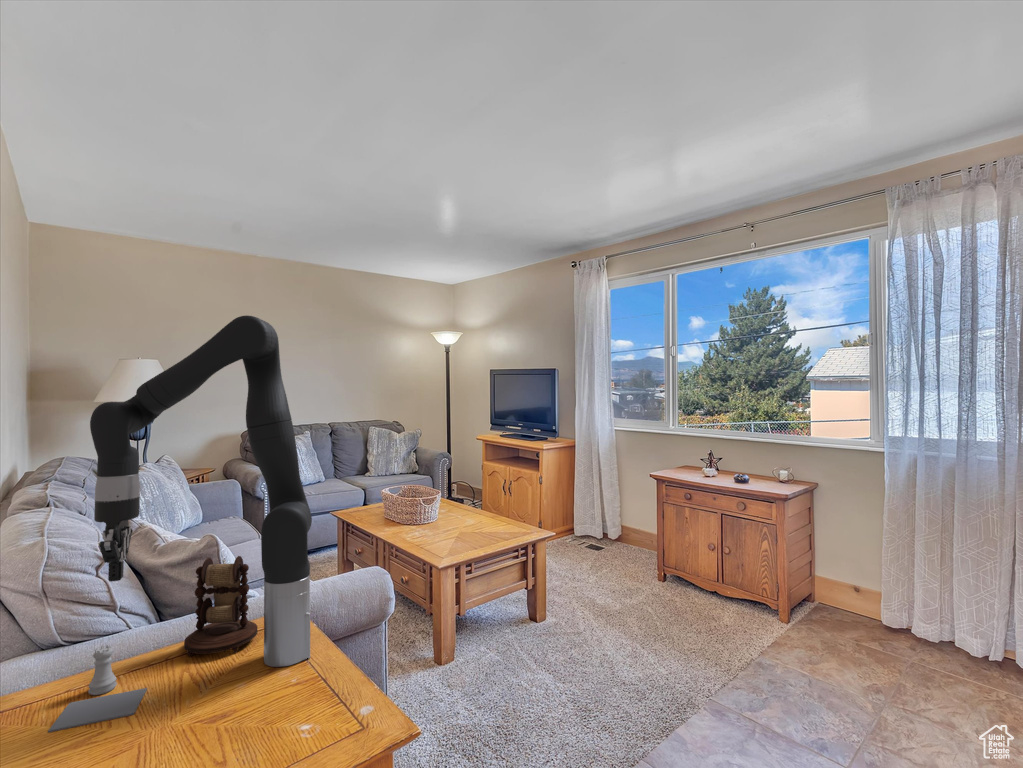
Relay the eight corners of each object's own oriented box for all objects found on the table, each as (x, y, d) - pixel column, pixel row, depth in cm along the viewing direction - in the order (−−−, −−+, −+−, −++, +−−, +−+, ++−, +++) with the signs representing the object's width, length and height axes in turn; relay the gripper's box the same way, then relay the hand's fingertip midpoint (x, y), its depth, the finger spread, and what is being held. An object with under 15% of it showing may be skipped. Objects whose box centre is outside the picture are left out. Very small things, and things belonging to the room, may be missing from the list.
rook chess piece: (100, 697, 97) (101, 654, 97) (81, 695, 98) (82, 652, 98) (123, 684, 101) (123, 643, 102) (104, 682, 102) (105, 642, 103)
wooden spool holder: (266, 628, 126) (266, 547, 127) (243, 657, 112) (243, 565, 113) (202, 633, 124) (203, 550, 125) (170, 663, 110) (171, 569, 111)
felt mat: (147, 689, 100) (147, 687, 100) (133, 714, 91) (133, 712, 91) (69, 704, 95) (69, 702, 95) (48, 732, 87) (48, 730, 87)
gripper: (130, 500, 103) (128, 587, 102) (147, 490, 115) (145, 568, 114) (83, 503, 100) (81, 593, 99) (106, 493, 112) (104, 573, 112)
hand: (115, 579), depth 107 cm, fingers closed
